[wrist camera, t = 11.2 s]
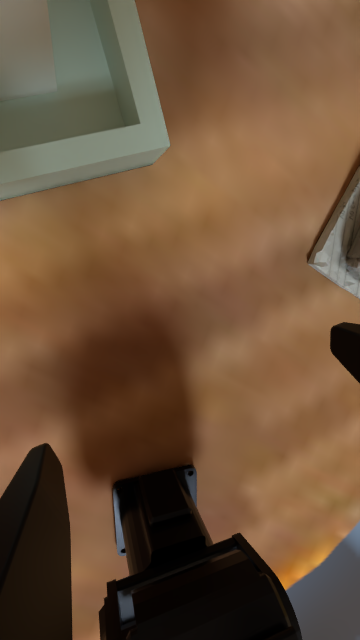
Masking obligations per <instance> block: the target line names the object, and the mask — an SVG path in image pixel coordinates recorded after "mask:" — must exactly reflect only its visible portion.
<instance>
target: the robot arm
mask: <svg viewBox="0 0 360 640" xmlns="http://www.w3.org/2000/svg"><path fill="white" fill-rule="evenodd" d="M330 349H331V352H332V354H333V355H334V356H335V357H336V358H337V359H338V360H339V362H340V363H341V364H342V365H343V366H344V367H345V368H346V369H347V370H348V371H349V372H350V373H351V375H352V376H353V377H354V378H355V379H356V380H357V381H358V382H359V383H360V324H353V323H347V322H343V323H340V324H337V325H335V326H333V327H332V328H331V333H330ZM189 471H191V472H190V473H188V472H189ZM118 488H121V489H120V490H117V489H118ZM112 489H113V502H114V516H115V529H116V543H117V552H118V555H120V556H125V555H126V557H127V563H128V569H129V575H130V576H128V577H126V578H123V579H120V580H118V581H116V579H115V580H112V581H110V582H107V597H105V598H104V606H103V607H102V608H101V610H100V611H99V623H100V640H302V636H301V631H300V627H299V624H298V621H297V618H296V615H295V612H294V610H293V607H292V605H291V602H290V600H289V597H288V595H287V593H286V591H285V589H284V588H283V586H282V584H281V582H280V581H279V579H278V577H277V576H276V575H275V573H274V572H273V571H272V570H271V568H270V567H269V566H268V565H267V564H266V563H265V561H264V560H263V559H262V558H261V557H260V556H259V554H258V553H257V552H256V551H255V550H254V549H253V547H252V546H251V545H250V544H249V543H248V542H247V540H246V539H245V538H244V537H243V536H242V535H241V533H237V534H234V535H232V537H231V538H229V539H226V540H223V541H221V542H218V543H215V544H213V542H212V540H211V537H210V535H209V533H208V531H207V529H206V527H205V524H204V522H203V520H202V518H201V516H200V514H199V512H198V509H197V472H196V469H195V467H194V466H193V465H185V466H181V467H177V468H172V469H168V470H164V471H160V472H155V473H151V474H147V475H142V476H138V477H134V478H130V479H125V480H121V481H118V482H116V483H115V484H114V485H113V488H112ZM123 548H124V549H123ZM0 640H72V593H71V539H70V522H69V513H68V506H67V498H66V491H65V483H64V476H63V469H62V465H61V463H60V461H59V459H58V458H57V456H56V454H55V453H54V451H53V450H52V448H51V446H50V445H49V444H48V443H44V444H41V445H39V446H36V447H34V448H32V449H31V450H30V451H29V453H28V454H27V456H26V458H25V459H24V461H23V463H22V464H21V466H20V467H19V469H18V471H17V472H16V474H15V475H14V477H13V479H12V480H11V482H10V484H9V485H8V487H7V488H6V490H5V492H4V493H3V495H2V496H1V498H0Z"/></svg>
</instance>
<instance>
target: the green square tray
mask: <svg viewBox="0 0 360 640" xmlns="http://www.w3.org/2000/svg"><path fill="white" fill-rule="evenodd" d="M47 5H48V14H49V22H50V31H51V40H52V49H53V57H54V66H55V75H56V83H57V92H52V93H46V94H40V95H35V96H29V97H23V98H17V99H11V100H5V101H0V201H1V200H5V199H9V198H14V197H18V196H22V195H26V194H30V193H35V192H39V191H43V190H47V189H51V188H56V187H60V186H64V185H68V184H73V183H77V182H81V181H85V180H89V179H94V178H98V177H102V176H106V175H111V174H115V173H119V172H123V171H127V170H132V169H136V168H140V167H144V166H148V165H152V164H153V163H154V162H155V161H156V160H157V159H158V158H159V157H160V156H161V155H162V154H163V153H164V152H165V151H166V150H167V149H168V148H169V147H170V142H169V138H168V134H167V130H166V125H165V121H164V117H163V113H162V109H161V105H160V101H159V97H158V93H157V89H156V85H155V81H154V77H153V73H152V69H151V65H150V61H149V56H148V52H147V48H146V44H145V40H144V36H143V32H142V28H141V24H140V20H139V16H138V12H137V8H136V4H135V0H47Z"/></svg>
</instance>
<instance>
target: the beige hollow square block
mask: <svg viewBox="0 0 360 640" xmlns="http://www.w3.org/2000/svg"><path fill="white" fill-rule="evenodd" d="M52 92H57V83H56V75H55V66H54V57H53V49H52V40H51V31H50V22H49V14H48V5H47V0H0V101H5V100H11V99H17V98H23V97H29V96H35V95H40V94H46V93H52Z"/></svg>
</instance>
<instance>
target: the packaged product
mask: <svg viewBox="0 0 360 640" xmlns="http://www.w3.org/2000/svg"><path fill="white" fill-rule="evenodd" d="M308 264H309V265H310V266H312V267H313V268H314V269H316V270H317V271H318V272H320V273H321V274H322V275H324V276H325V277H327V278H328V279H330V280H331V281H333V282H334V283H335V284H337V285H338V286H340V287H341V288H343V289H345V290H347V291H349V292H351V293H352V294H353V295H355V296H356V297H357V298H359V299H360V165H359V167H358V169H357V171H356V173H355V174H354V176H353V178H352V180H351V182H350V184H349V185H348V187H347V189H346V191H345V193H344V194H343V196H342V198H341V200H340V202H339V203H338V205H337V207H336V209H335V211H334V213H333V214H332V216H331V218H330V220H329V222H328V224H327V225H326V227H325V229H324V231H323V233H322V235H321V237H320V238H319V240H318V242H317V244H316V245H315V247H314V249H313V252H312V254H311V256H310V259H309V261H308Z"/></svg>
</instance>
